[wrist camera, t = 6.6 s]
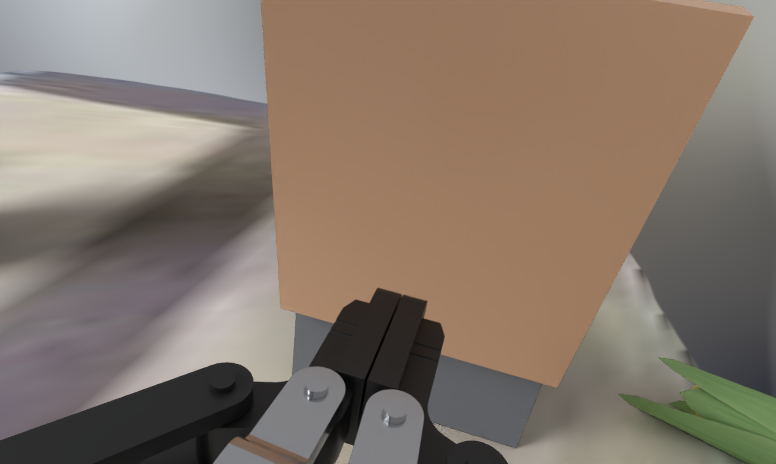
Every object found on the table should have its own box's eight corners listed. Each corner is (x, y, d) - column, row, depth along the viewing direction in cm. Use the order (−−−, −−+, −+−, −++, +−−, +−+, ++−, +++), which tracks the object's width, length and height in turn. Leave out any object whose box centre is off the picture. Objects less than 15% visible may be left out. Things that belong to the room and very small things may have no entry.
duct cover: (289, 294, 26) (280, 308, 25) (271, -69, 16) (256, -64, 15) (557, 370, 24) (557, 388, 23) (743, 6, 13) (754, 16, 13)
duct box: (292, 378, 29) (297, 295, 26) (370, 247, 43) (379, 184, 40) (515, 448, 27) (549, 366, 24) (522, 287, 41) (544, 223, 38)
